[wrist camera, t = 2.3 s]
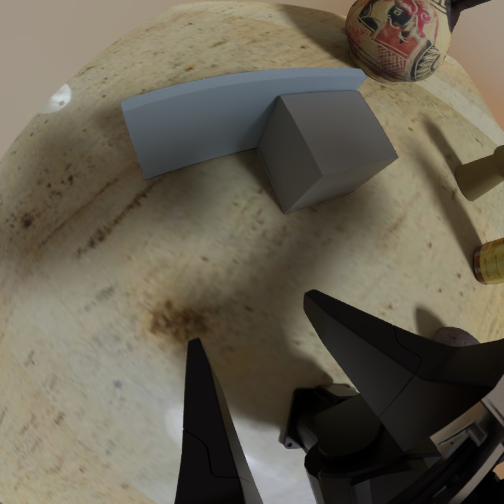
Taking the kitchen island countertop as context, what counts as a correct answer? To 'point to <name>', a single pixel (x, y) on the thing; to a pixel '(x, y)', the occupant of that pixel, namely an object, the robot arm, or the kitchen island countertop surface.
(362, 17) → the ceramic jug
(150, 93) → the side door
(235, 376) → the kitchen island countertop surface
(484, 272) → the sauce bottle
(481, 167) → the cork
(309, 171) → the camera case
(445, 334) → the perforated stone tool
